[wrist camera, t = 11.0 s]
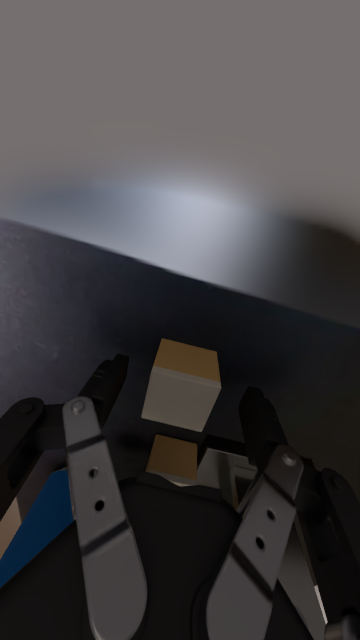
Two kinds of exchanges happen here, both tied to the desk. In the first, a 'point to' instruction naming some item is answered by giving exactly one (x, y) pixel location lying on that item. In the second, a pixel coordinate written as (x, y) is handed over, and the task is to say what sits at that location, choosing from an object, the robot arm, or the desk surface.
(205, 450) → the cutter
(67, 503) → the beverage can
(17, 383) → the desk surface
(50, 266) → the desk surface
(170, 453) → the cake
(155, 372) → the cake slice
